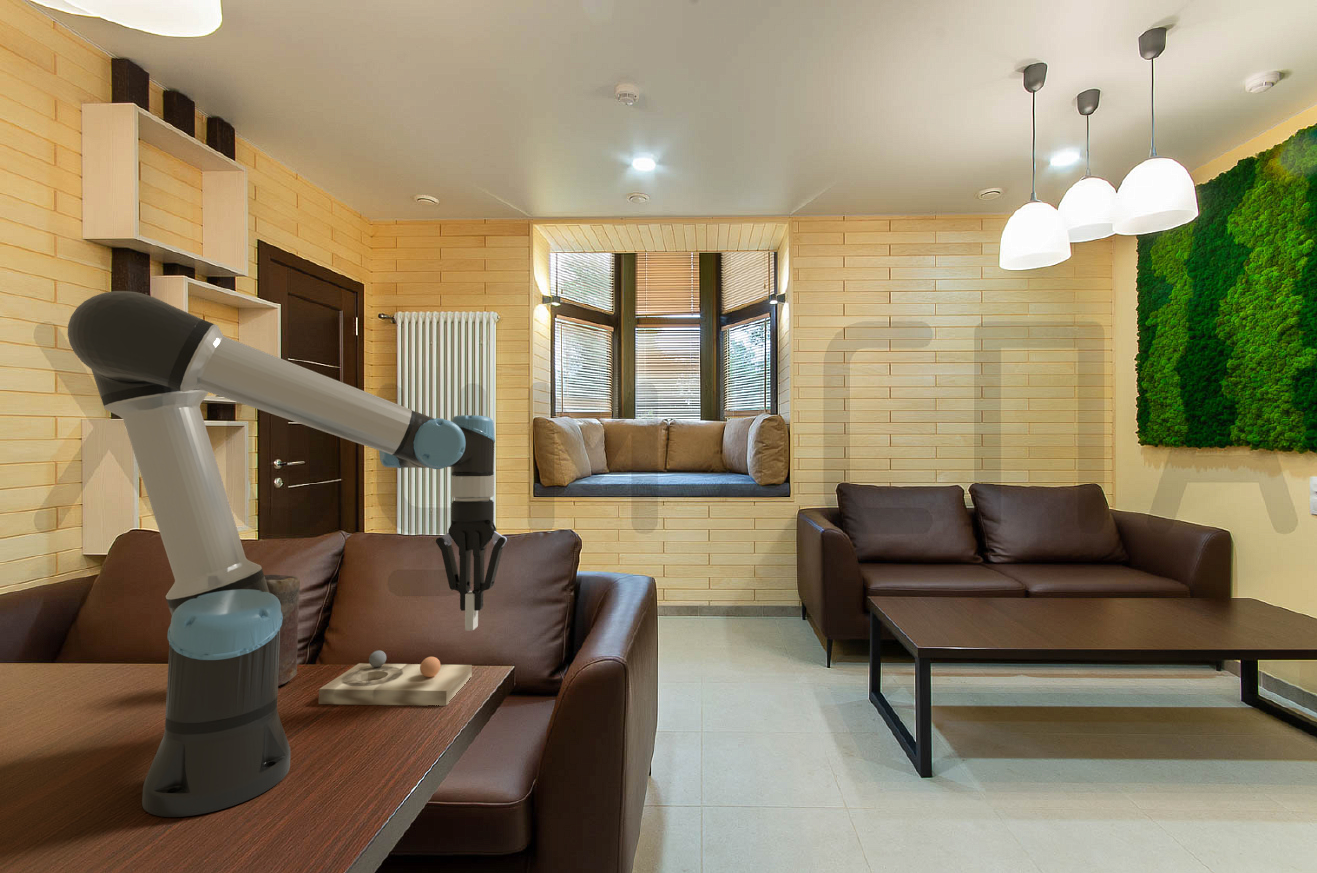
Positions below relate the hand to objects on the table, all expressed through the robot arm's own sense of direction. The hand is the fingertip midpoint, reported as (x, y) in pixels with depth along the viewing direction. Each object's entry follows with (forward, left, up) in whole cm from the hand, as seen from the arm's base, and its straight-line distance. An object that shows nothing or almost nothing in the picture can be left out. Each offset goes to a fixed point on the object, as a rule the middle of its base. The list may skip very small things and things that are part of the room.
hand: (471, 628), depth 107 cm
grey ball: (+16, +12, -7) cm, 21 cm away
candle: (+26, +27, -12) cm, 39 cm away
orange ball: (+5, +6, -7) cm, 10 cm away
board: (+8, +10, -11) cm, 17 cm away
